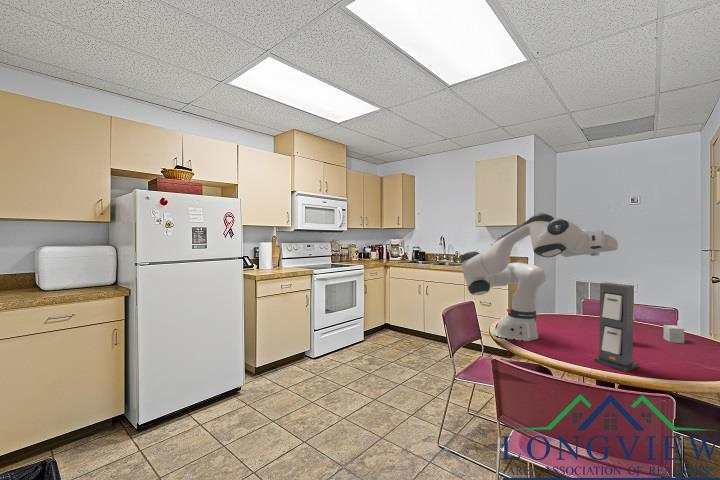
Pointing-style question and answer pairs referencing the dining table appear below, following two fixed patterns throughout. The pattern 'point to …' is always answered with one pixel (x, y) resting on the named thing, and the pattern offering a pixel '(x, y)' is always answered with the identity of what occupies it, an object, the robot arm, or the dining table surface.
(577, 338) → the dining table surface
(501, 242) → the robot arm
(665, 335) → the skincare box
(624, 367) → the power strip
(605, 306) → the white rocker switch
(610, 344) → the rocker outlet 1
